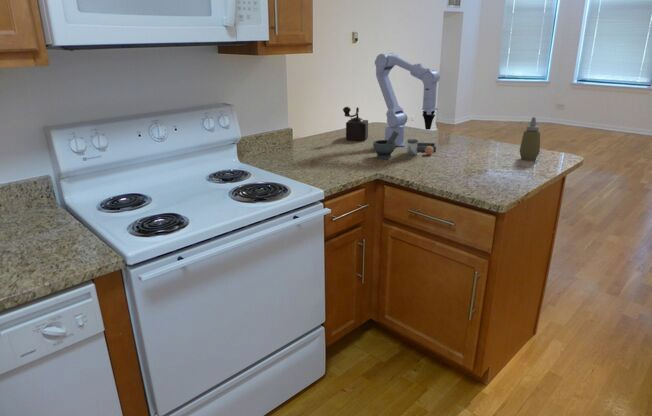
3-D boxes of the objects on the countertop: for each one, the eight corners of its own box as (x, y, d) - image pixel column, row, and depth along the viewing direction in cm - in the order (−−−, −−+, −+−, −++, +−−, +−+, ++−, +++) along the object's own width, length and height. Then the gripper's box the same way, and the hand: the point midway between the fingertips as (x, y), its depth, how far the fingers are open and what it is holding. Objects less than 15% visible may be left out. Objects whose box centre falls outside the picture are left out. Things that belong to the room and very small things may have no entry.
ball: (424, 155, 211) (424, 147, 210) (424, 153, 215) (424, 145, 213) (433, 155, 210) (433, 147, 209) (433, 153, 214) (433, 145, 213)
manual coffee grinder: (348, 136, 254) (348, 103, 248) (368, 137, 252) (368, 103, 246) (342, 142, 240) (341, 107, 234) (363, 143, 238) (363, 107, 231)
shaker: (406, 155, 212) (407, 141, 209) (407, 153, 216) (407, 139, 213) (416, 156, 211) (417, 141, 208) (417, 153, 215) (418, 139, 212)
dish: (411, 151, 220) (411, 146, 219) (412, 147, 227) (412, 142, 226) (435, 151, 217) (435, 146, 217) (435, 147, 225) (435, 143, 224)
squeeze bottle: (540, 162, 197) (546, 119, 190) (520, 161, 198) (525, 118, 192) (536, 157, 204) (542, 115, 198) (516, 156, 206) (521, 115, 199)
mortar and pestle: (371, 159, 207) (372, 132, 203) (374, 154, 216) (374, 128, 211) (397, 160, 205) (398, 133, 200) (398, 155, 213) (399, 129, 209)
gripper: (438, 100, 207) (436, 130, 212) (438, 96, 220) (436, 124, 225) (422, 100, 208) (421, 130, 213) (422, 96, 222) (421, 124, 226)
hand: (427, 127), depth 219 cm, fingers open, 7 cm apart
